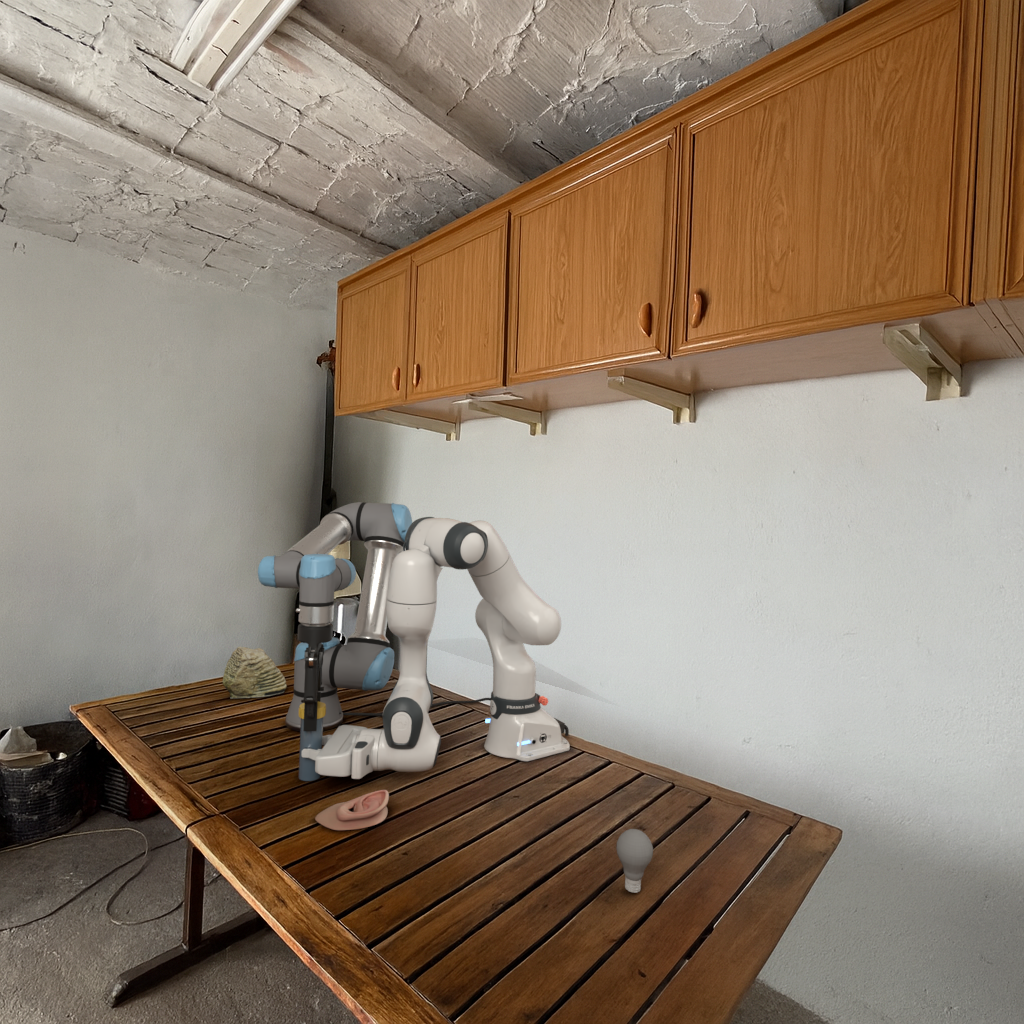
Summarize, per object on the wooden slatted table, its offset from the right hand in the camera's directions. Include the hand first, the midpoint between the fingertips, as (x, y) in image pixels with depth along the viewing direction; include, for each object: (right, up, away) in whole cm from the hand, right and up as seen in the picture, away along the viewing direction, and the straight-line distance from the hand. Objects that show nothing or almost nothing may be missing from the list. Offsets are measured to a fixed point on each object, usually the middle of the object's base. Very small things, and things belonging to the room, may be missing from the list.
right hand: (306, 746), depth 143 cm
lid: (+1, +9, 0) cm, 9 cm away
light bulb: (+66, -10, -37) cm, 77 cm away
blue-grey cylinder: (+1, -7, 0) cm, 7 cm away
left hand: (+1, +5, 0) cm, 5 cm away
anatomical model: (+15, -8, -17) cm, 24 cm away
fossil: (-34, -4, +55) cm, 65 cm away
